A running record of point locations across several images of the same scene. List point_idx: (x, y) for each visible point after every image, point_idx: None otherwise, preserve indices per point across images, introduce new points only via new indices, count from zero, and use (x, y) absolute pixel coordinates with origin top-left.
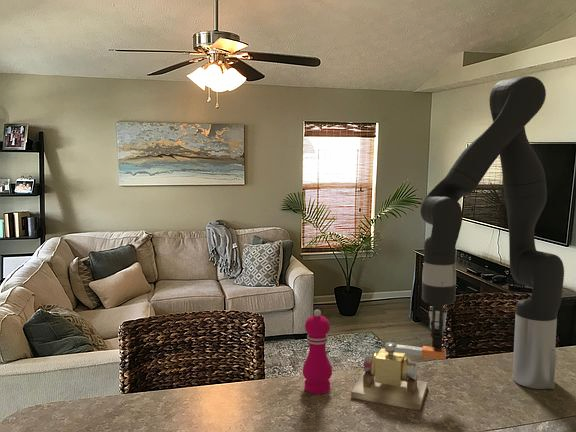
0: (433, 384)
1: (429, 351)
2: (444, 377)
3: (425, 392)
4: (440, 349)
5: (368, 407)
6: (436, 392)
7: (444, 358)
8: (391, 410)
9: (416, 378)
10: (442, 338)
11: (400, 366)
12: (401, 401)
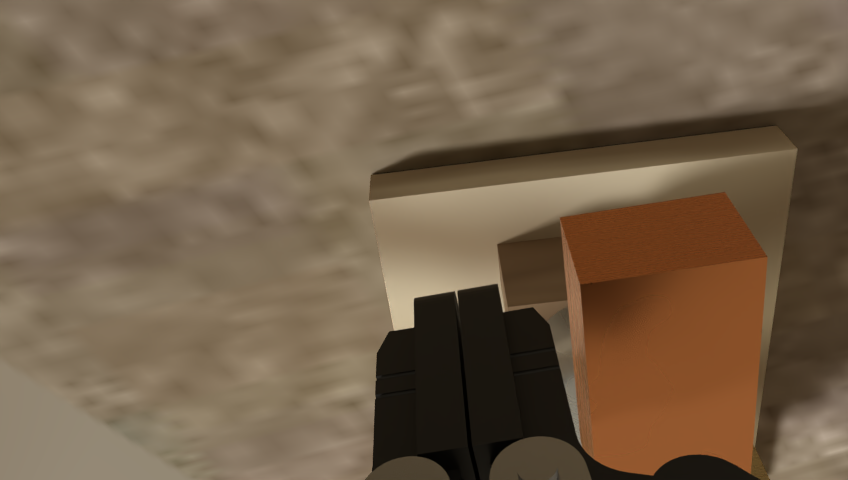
0: (279, 150)
1: (746, 422)
2: (83, 106)
3: (488, 167)
4: (653, 336)
5: (824, 388)
6: (413, 95)
7: (735, 213)
8: (827, 278)
9: (557, 292)
10: (571, 447)
11: (766, 477)
12: (776, 267)
